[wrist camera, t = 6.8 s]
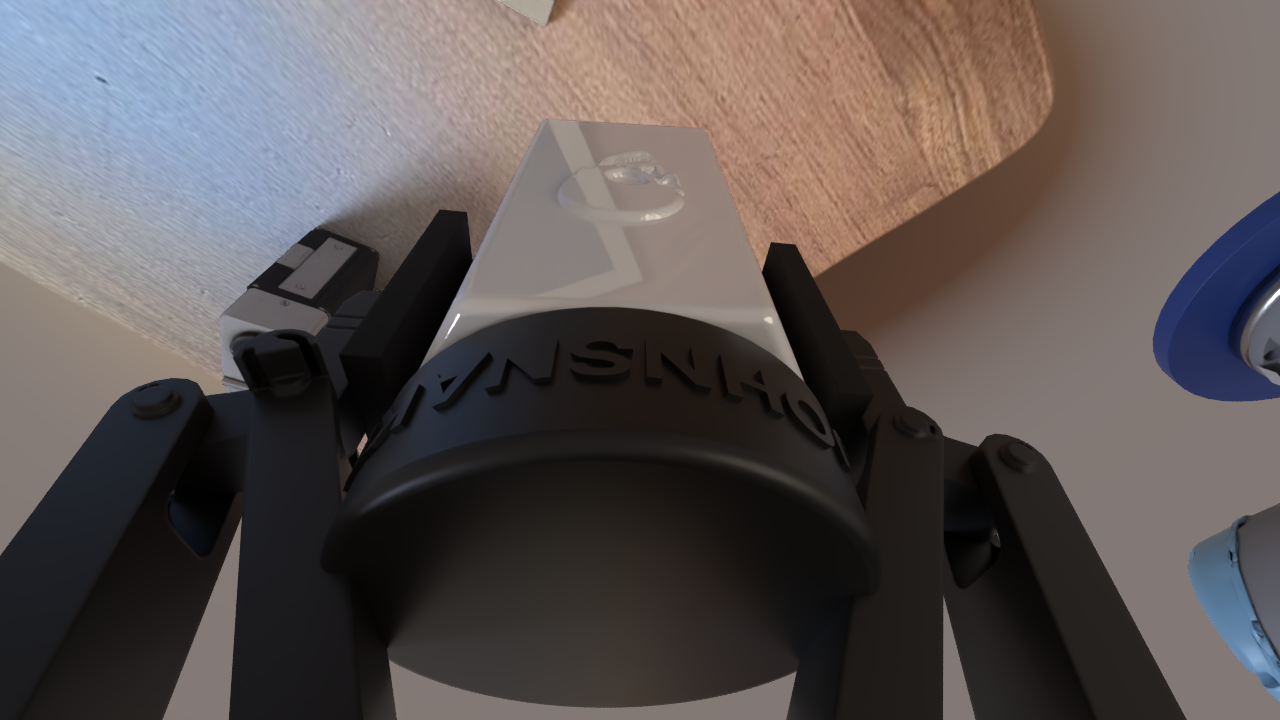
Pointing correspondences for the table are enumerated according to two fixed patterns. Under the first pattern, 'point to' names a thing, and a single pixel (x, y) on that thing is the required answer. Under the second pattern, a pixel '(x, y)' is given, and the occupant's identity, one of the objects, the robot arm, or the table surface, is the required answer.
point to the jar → (606, 450)
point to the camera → (296, 294)
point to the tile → (532, 9)
